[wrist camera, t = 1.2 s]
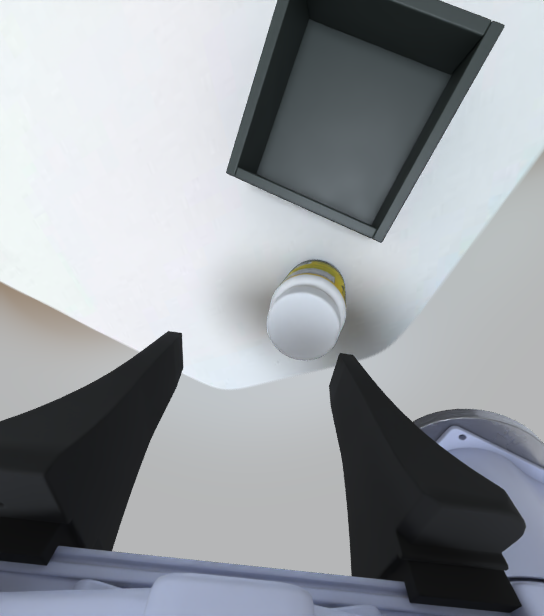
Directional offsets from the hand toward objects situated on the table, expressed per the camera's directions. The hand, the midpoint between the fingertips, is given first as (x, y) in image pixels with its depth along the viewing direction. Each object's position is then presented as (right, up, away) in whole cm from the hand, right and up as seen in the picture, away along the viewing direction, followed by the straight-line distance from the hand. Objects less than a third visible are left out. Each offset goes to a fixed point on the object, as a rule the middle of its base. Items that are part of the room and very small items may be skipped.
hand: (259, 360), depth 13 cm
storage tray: (+5, +14, +6) cm, 16 cm away
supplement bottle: (+4, +4, +10) cm, 12 cm away
